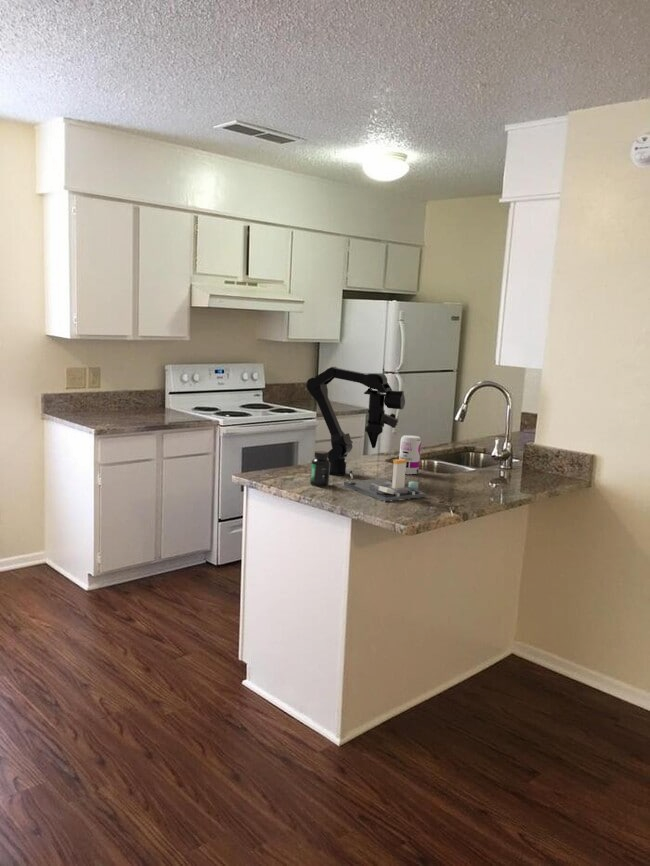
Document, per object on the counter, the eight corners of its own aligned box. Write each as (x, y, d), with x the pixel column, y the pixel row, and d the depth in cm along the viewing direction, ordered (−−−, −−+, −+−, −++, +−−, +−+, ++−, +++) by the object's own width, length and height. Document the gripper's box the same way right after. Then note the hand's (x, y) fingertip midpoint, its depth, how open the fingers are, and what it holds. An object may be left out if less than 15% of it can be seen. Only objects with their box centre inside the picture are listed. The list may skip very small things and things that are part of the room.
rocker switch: (378, 489, 247) (379, 485, 247) (385, 491, 249) (386, 487, 249) (386, 492, 244) (387, 488, 244) (393, 494, 246) (394, 490, 246)
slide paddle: (387, 490, 252) (390, 458, 250) (398, 489, 254) (400, 458, 252) (396, 493, 247) (399, 461, 246) (407, 492, 250) (410, 460, 248)
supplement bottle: (311, 486, 258) (313, 453, 256) (308, 482, 264) (310, 450, 262) (330, 487, 259) (332, 454, 257) (327, 482, 265) (329, 450, 264)
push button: (406, 487, 254) (406, 481, 253) (413, 487, 256) (414, 481, 255) (412, 490, 251) (412, 484, 250) (419, 489, 253) (420, 483, 252)
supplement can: (418, 472, 294) (421, 435, 292) (418, 476, 286) (421, 439, 284) (398, 470, 295) (400, 434, 293) (398, 474, 287) (401, 437, 285)
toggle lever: (350, 480, 260) (348, 470, 261) (352, 480, 261) (351, 470, 262) (351, 479, 259) (350, 470, 260) (354, 479, 260) (352, 469, 261)
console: (343, 485, 262) (344, 479, 262) (382, 482, 272) (383, 475, 272) (384, 502, 242) (385, 494, 242) (425, 497, 252) (426, 490, 252)
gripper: (397, 411, 262) (394, 453, 264) (398, 405, 280) (395, 445, 283) (366, 409, 263) (363, 451, 266) (369, 403, 281) (367, 443, 284)
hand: (373, 447), depth 274 cm, fingers closed
